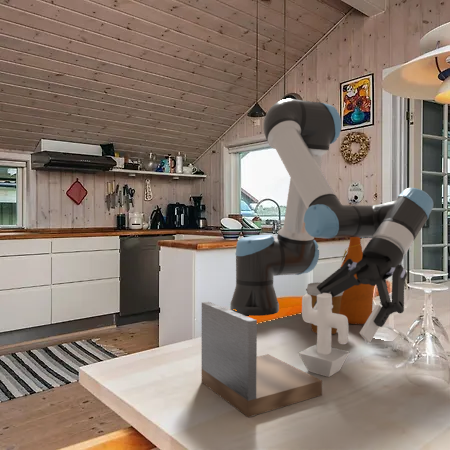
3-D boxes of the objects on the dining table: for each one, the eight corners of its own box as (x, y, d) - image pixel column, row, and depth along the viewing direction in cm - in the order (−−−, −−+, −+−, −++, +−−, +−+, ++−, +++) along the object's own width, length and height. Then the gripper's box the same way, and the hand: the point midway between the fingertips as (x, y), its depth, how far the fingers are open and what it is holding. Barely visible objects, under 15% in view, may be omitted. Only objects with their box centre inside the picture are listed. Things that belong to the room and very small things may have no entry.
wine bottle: (352, 315, 125) (353, 215, 124) (380, 322, 117) (381, 215, 116) (328, 319, 120) (330, 215, 119) (355, 327, 112) (357, 215, 111)
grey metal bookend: (208, 366, 76) (208, 301, 76) (256, 398, 63) (256, 320, 63) (201, 368, 75) (201, 302, 75) (248, 400, 63) (248, 321, 62)
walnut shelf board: (268, 366, 83) (268, 354, 83) (321, 395, 70) (321, 380, 70) (201, 382, 76) (201, 368, 75) (248, 417, 63) (248, 400, 63)
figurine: (337, 383, 75) (338, 300, 75) (293, 369, 82) (293, 293, 81) (355, 371, 81) (356, 294, 80) (311, 360, 87) (312, 288, 87)
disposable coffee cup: (351, 332, 107) (351, 286, 106) (325, 339, 101) (326, 290, 101) (323, 324, 115) (323, 281, 114) (297, 329, 109) (298, 284, 109)
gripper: (452, 265, 79) (401, 359, 72) (350, 255, 100) (302, 326, 93) (435, 239, 76) (381, 333, 69) (334, 233, 98) (284, 305, 90)
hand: (336, 329), depth 81 cm, fingers open, 13 cm apart
